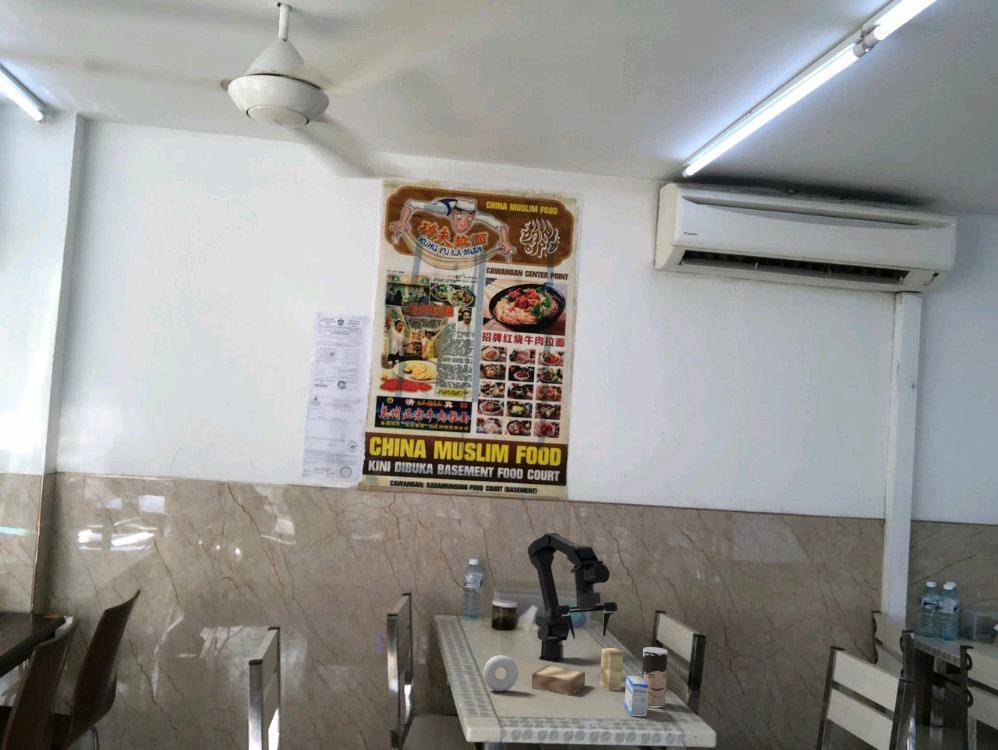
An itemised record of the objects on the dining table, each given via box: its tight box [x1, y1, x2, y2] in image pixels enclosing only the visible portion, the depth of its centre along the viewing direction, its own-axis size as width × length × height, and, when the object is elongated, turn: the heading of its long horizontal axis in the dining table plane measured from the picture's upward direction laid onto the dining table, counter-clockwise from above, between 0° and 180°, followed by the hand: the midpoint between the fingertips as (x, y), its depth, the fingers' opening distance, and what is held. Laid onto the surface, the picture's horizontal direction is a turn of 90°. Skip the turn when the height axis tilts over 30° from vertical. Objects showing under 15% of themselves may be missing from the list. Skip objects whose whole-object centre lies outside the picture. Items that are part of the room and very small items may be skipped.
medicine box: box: [623, 675, 648, 716], centre depth 234 cm, size 8×4×9 cm, turn 5°
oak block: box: [599, 647, 624, 691], centre depth 256 cm, size 4×4×11 cm
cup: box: [641, 646, 669, 706], centre depth 243 cm, size 7×7×15 cm
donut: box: [482, 654, 519, 692], centre depth 246 cm, size 10×3×10 cm, turn 96°
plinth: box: [531, 664, 586, 696], centre depth 254 cm, size 12×12×4 cm
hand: (589, 637), depth 268 cm, fingers open, 9 cm apart
